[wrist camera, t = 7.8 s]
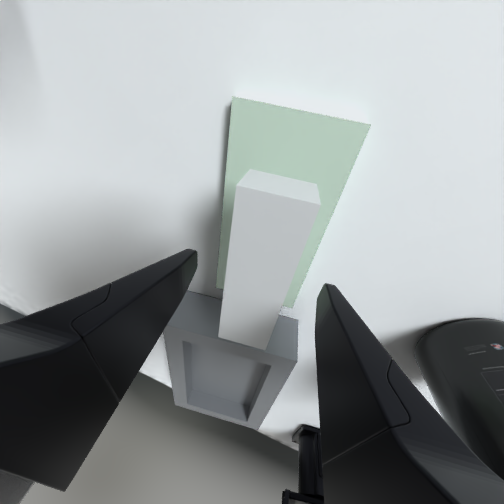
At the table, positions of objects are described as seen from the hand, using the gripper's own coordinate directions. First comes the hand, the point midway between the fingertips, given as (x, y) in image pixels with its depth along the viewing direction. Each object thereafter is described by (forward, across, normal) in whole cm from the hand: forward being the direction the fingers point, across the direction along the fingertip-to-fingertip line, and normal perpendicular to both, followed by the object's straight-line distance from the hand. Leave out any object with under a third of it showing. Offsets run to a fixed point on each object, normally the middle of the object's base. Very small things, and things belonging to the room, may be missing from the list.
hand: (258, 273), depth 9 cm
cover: (+5, 0, 0) cm, 5 cm away
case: (+5, +1, +16) cm, 17 cm away
